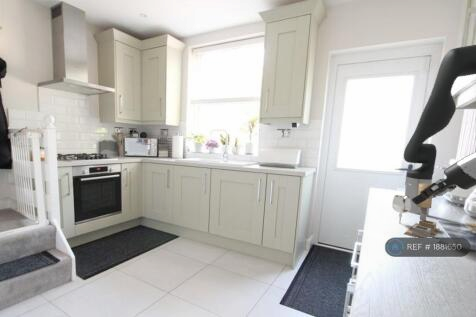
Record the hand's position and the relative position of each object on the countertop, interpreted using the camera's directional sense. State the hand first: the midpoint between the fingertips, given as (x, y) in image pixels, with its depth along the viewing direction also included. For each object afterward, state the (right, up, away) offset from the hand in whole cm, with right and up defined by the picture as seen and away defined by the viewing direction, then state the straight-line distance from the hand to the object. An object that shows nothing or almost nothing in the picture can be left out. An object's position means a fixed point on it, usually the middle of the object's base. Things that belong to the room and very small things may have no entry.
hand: (417, 201), depth 75 cm
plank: (+4, -13, +3) cm, 14 cm away
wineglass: (+2, -12, +10) cm, 16 cm away
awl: (+1, -6, -1) cm, 6 cm away
